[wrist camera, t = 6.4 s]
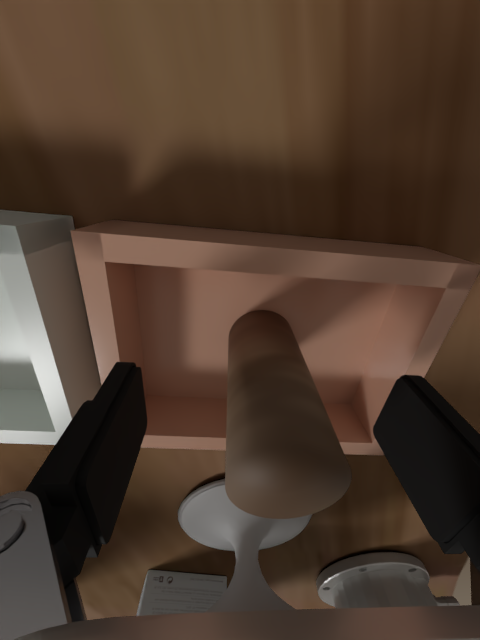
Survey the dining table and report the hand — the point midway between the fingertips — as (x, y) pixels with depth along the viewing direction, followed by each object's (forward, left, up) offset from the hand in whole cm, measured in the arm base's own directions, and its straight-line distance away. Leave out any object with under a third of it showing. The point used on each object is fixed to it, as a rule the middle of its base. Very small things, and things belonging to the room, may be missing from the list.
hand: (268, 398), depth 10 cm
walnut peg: (0, +1, -5) cm, 5 cm away
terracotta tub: (0, +1, -6) cm, 6 cm away
